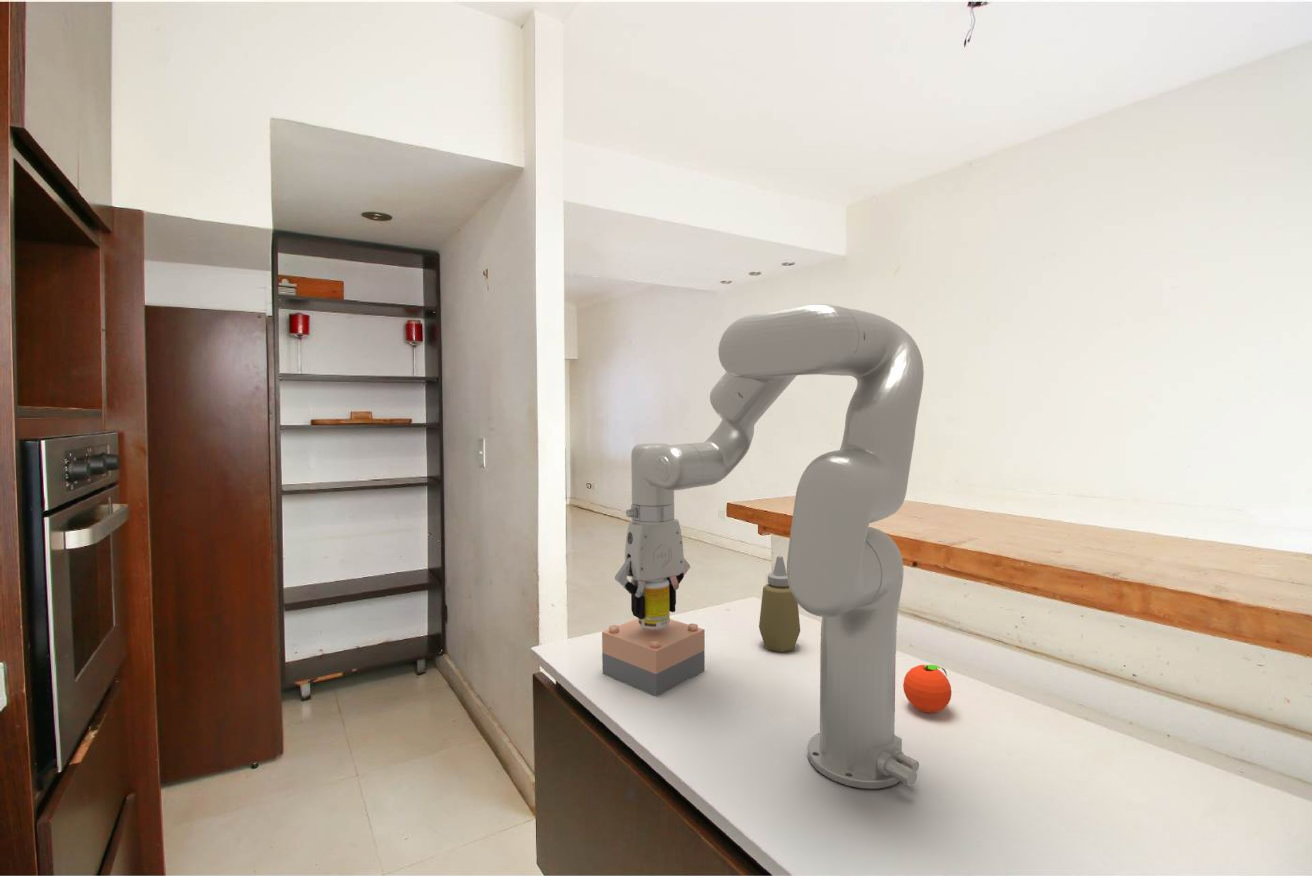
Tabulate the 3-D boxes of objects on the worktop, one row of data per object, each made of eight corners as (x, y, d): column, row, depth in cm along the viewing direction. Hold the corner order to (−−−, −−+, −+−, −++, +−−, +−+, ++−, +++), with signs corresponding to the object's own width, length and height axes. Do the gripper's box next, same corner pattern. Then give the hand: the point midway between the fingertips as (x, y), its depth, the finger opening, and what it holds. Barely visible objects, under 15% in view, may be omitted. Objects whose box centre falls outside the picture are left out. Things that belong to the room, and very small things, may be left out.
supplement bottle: (676, 626, 108) (675, 569, 108) (651, 633, 105) (651, 574, 104) (656, 617, 113) (655, 563, 112) (632, 624, 109) (631, 568, 109)
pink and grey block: (704, 670, 110) (704, 625, 109) (656, 696, 100) (656, 646, 100) (651, 651, 119) (651, 609, 118) (602, 673, 109) (602, 627, 108)
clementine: (927, 694, 101) (928, 652, 100) (965, 713, 94) (966, 668, 94) (893, 705, 97) (893, 661, 97) (930, 725, 91) (930, 679, 90)
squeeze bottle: (750, 643, 122) (750, 555, 121) (782, 636, 126) (782, 550, 125) (776, 658, 115) (777, 564, 114) (809, 649, 119) (809, 559, 118)
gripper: (621, 521, 100) (622, 629, 101) (704, 511, 109) (705, 610, 110) (600, 515, 106) (601, 616, 107) (680, 505, 116) (681, 599, 116)
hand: (654, 612), depth 109 cm, fingers open, 5 cm apart
